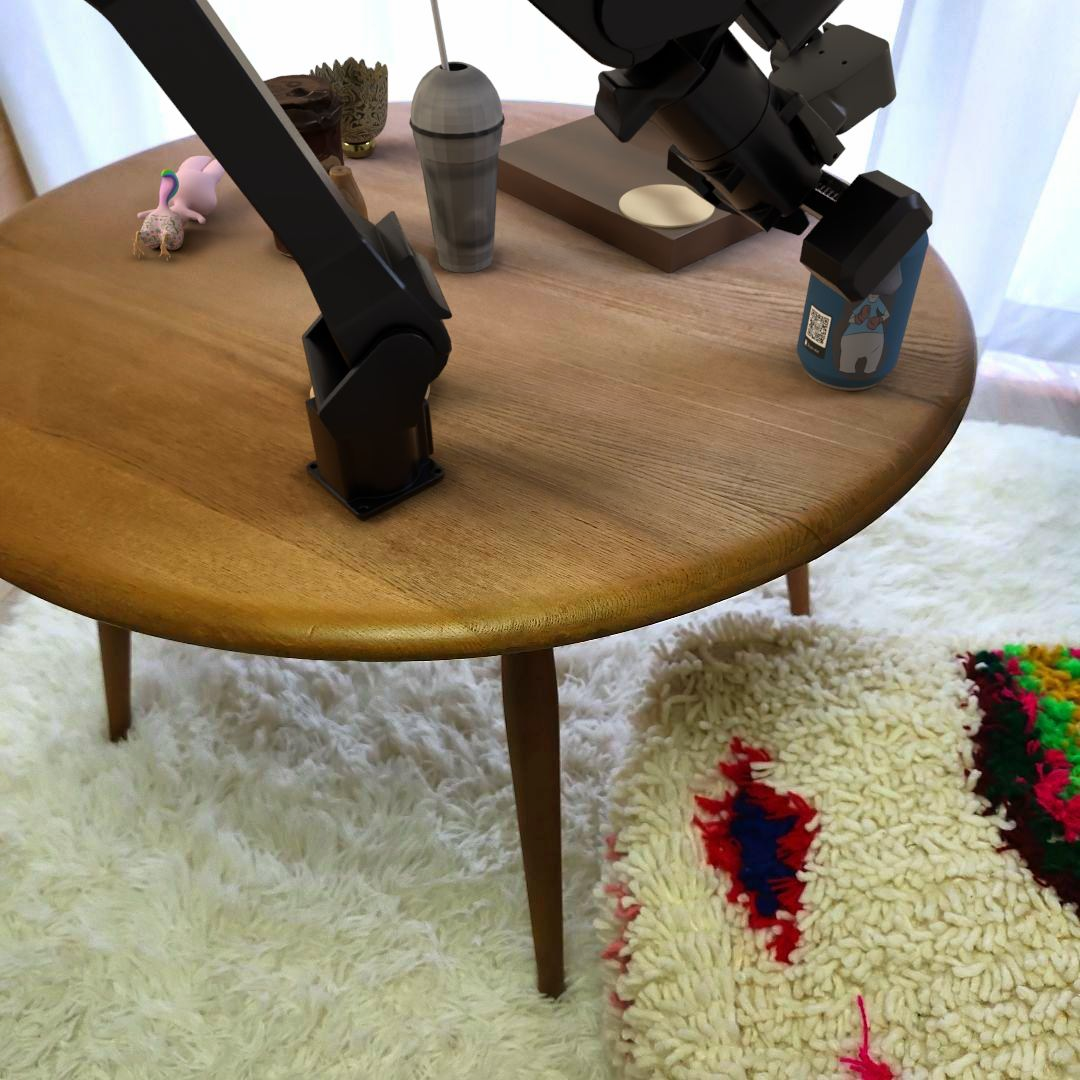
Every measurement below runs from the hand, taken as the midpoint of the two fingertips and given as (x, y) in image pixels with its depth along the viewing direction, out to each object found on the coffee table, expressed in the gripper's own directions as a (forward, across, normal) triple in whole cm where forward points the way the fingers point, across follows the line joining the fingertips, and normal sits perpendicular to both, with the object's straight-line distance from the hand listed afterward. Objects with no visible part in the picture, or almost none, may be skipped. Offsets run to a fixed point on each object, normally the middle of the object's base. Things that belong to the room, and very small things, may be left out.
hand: (847, 257), depth 67 cm
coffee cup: (-12, +36, +25) cm, 45 cm away
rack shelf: (+9, +32, +4) cm, 33 cm away
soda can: (+8, 0, +5) cm, 9 cm away
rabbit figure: (-18, +45, +31) cm, 58 cm away
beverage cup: (-5, +27, +18) cm, 33 cm away
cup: (-5, +53, +18) cm, 56 cm away
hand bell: (-14, +12, +27) cm, 33 cm away
